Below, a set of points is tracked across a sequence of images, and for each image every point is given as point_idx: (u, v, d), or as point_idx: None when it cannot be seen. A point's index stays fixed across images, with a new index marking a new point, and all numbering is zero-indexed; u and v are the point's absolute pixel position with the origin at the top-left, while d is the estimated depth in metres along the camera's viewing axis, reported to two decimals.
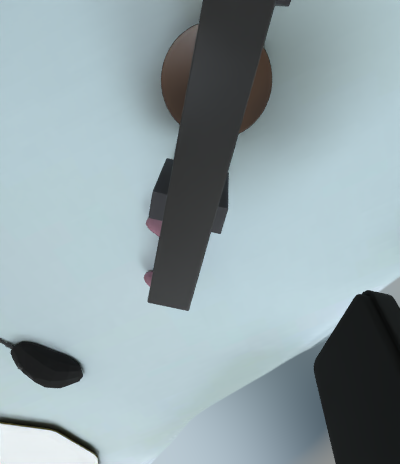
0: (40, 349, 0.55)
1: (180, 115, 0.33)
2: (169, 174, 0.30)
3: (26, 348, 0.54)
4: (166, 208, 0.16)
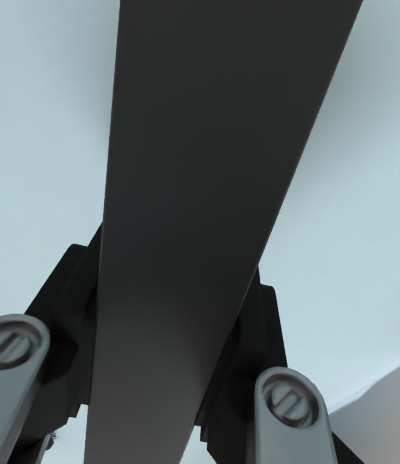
0: None
1: None
2: None
3: None
4: (89, 425, 0.08)
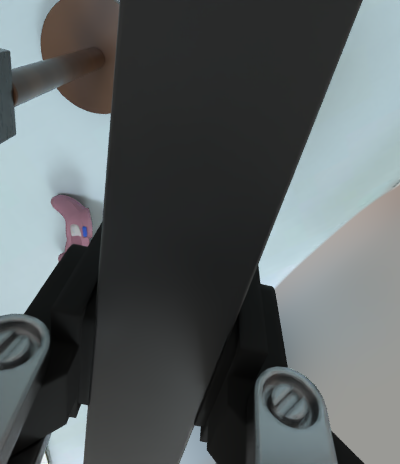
0: None
1: (66, 89, 0.34)
2: None
3: None
4: (89, 425, 0.08)
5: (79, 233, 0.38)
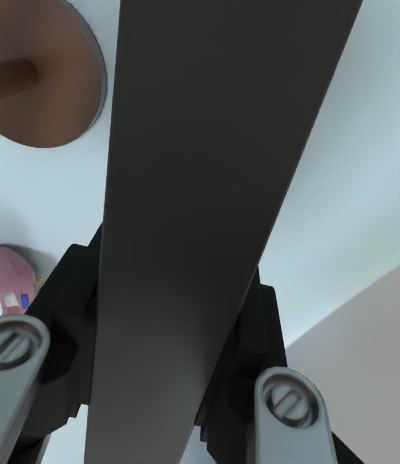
0: None
1: None
2: None
3: None
4: (89, 426, 0.08)
5: (17, 303, 0.28)
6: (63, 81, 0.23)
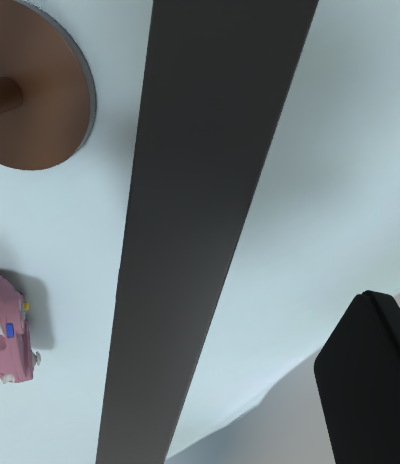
0: None
1: None
2: None
3: None
4: (109, 371, 0.10)
5: (2, 333, 0.27)
6: (50, 102, 0.21)
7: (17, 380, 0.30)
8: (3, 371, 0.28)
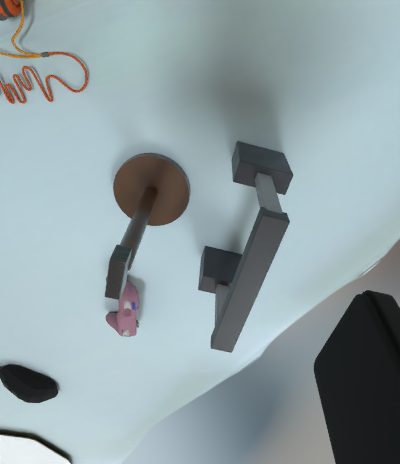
0: (23, 370, 0.67)
1: (127, 210, 0.47)
2: (209, 260, 0.48)
3: (12, 370, 0.67)
4: (227, 307, 0.35)
5: (130, 307, 0.51)
6: (170, 197, 0.46)
7: (130, 334, 0.54)
8: (126, 328, 0.53)
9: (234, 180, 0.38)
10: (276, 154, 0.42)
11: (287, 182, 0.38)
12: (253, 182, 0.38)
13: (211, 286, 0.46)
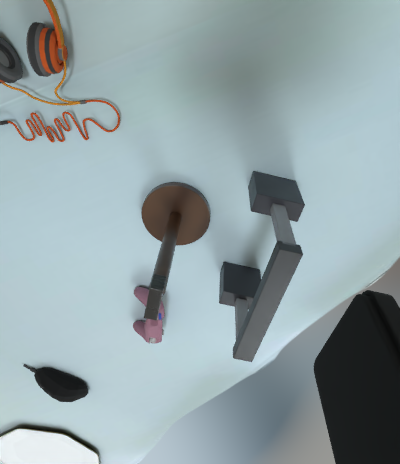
0: (56, 373, 0.74)
1: (154, 232, 0.53)
2: (228, 276, 0.53)
3: (46, 372, 0.73)
4: (248, 323, 0.40)
5: None
6: (192, 220, 0.51)
7: (156, 341, 0.60)
8: (153, 336, 0.58)
9: (252, 210, 0.43)
10: (289, 182, 0.47)
11: (299, 211, 0.43)
12: (269, 211, 0.43)
13: (231, 300, 0.51)
